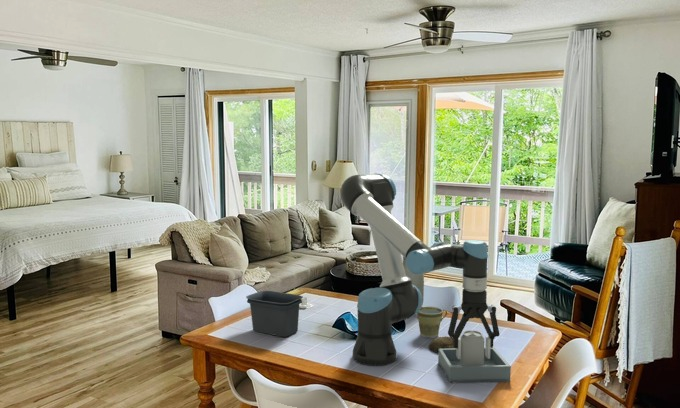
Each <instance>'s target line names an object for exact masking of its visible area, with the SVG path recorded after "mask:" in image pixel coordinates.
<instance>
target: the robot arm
mask: <svg viewBox="0 0 680 408" xmlns="http://www.w3.org/2000/svg"><path fill="white" fill-rule="evenodd" d="M339 193H340V198H341V202H342V204H343V206H344V207H345V208H346V209H347V210H348V211H349V212H350V213H351V214H352V215H354V216H356V217H357V216H358V217H360V218H361V219H362V220H363V221H364V222H365V223H366V224H367V225H369V226H370V232H371V234H372V240H373V243H374V244H373V245H374V249H375V253H376V257H377V263H378V265H379V270H380V274H381V279H382V281H381V283H380V285H379V287H374V288H373V287H370V288H367V289H365V290H362V291H361V292H360V293H359V294H358V298H357V305H356V308H357V337H356V339H355V342H354V346H353V349H352V360H354V361H355V362H356V363H359V364H361V365H364V366H365V365H366V366H377V367H378V366H386V365H389V364H392V363H394V362H395V361H396V360H397V349H396V346H395V343H394V339H393V338H392V337H393V336H392V324H394V323H398V322H401V321H403V320H408V319H410V318H412V317H414V316H417V313H418V312H419V310H420V309H421V306H422V307H423V305H422V295H421V293H420V291H419V289H417V287H416V286H414V285H412V281H411V279H410V278H409V277H407V276H406V274H405V270H404V266H403V256H404V257H405V258H406V264H407V266H408V269H409V270H410V271H411V272H412V273H414V274H423V275H424V274H428V273H430V272H434V271H437V270H438V271H439V270H443V269H447V268H456V269H460V270H462V288H463V289H462V293H461V294H462V297H461V299H462V300H461V301H462V302H461V304H460V305H457V306H456V305H452V314H451V319H450V323H449V327H448V330H447V334H448V337H452V338H454V340H453V346H454V348H456V357H457V358H458V359H461V336H462V334H463V332H464V329H465V327H466V325H467V324H468V323H467V322H469V320H470V319H480V321H481V323H482V325H483V328H484V330H485V331H486V333H487V335H486V336H485V343H484V348H485V356H486V357H487V358H488V359H490V348H494V339H495V338H496V337H499V336H500V335H501V334H500V331H499V325H498V321H497V320H498V319H497V315H496V313H497V307H496V306H495V305H494V304H491V305H489V304H487V293H488V291H487V290H486V289H488V284H487V283H488V282H487V281H488V257H489V254H488V243H487V242H486V241H483V240H479V239H477V240H476V239H469V240H465V241H463V245H461V244H455V243H448V242H445V241H444V242H443V241H442V242H440V241H439V242H437V241H436V242H434V243H433V244H432V245H431V246H430V247H429V246H428V245H427V244H425V243H424V242H423V241H422V240H421V239H419V238H418V237H417V236H416V235H415V234H414V233H412V232H411V231H410V230H409V229H408V228H407V227H406V226H405V225H404V224H403V223H401V222H400V221H399V220H398V219H397V218H396V217H394V215H392V210H393V208H394V206H395V205H394V203H393V202H394V200H395V199H396V195H397V189H396V184H395V182H394V181H393V179H392V178H391V177H389V176H388V175H386V174H383V173H369V174H368V173H367V174H354V175H351V176H349V177H348V178H346V179H345V180H344V181H343V183H342V184H341V187H340V192H339ZM461 311H463V313H462V315H461V319H460V321H459V323H457V322H458V317H459V314H460V312H461ZM486 312H489V317H490V322H491V326H492V329H491V327H490V325H489V323H488V321H487V318H486V317H485V313H486Z"/></svg>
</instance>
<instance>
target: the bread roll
mask: <svg viewBox="0 0 680 408" xmlns="http://www.w3.org/2000/svg"><path fill="white" fill-rule="evenodd" d="M453 340H454V338H452V337H450V336H437V337H435V338H433V339H432V340H431V341H430V342H429V345H428V349H429V350H431V351H432V352H434V353H437V354H438V350H439V349H447V348H454V346H453Z"/></svg>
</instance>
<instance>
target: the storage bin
mask: <svg viewBox="0 0 680 408" xmlns="http://www.w3.org/2000/svg"><path fill="white" fill-rule="evenodd" d="M303 297H304V296H302V295H299V294H293V293H287V292H286V293H285V292H280V291H273V290H260V291H257V292H255V293H252V294H249V295H246V296H245V298H246V299H247V301H246V302H247V304H249V307H250V313H251V314H250V316H251V324H252V330H253V331H254V332H256V333H262V334H268V335H273V336H277V337H283V338H287V337H289V336H291V335H293V334H294V333H297V332H298V330H299V315H300V308H299V304H301V303H302V300H301V299H302V298H303Z"/></svg>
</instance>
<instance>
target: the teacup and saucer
mask: <svg viewBox="0 0 680 408" xmlns="http://www.w3.org/2000/svg"><path fill="white" fill-rule="evenodd" d="M301 300H302V303H301V304H299V309H310V308H312V307H314V305H313V304H311V303H308V297H305V296H303V298H302V299H301ZM307 305H308V306H307Z"/></svg>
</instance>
